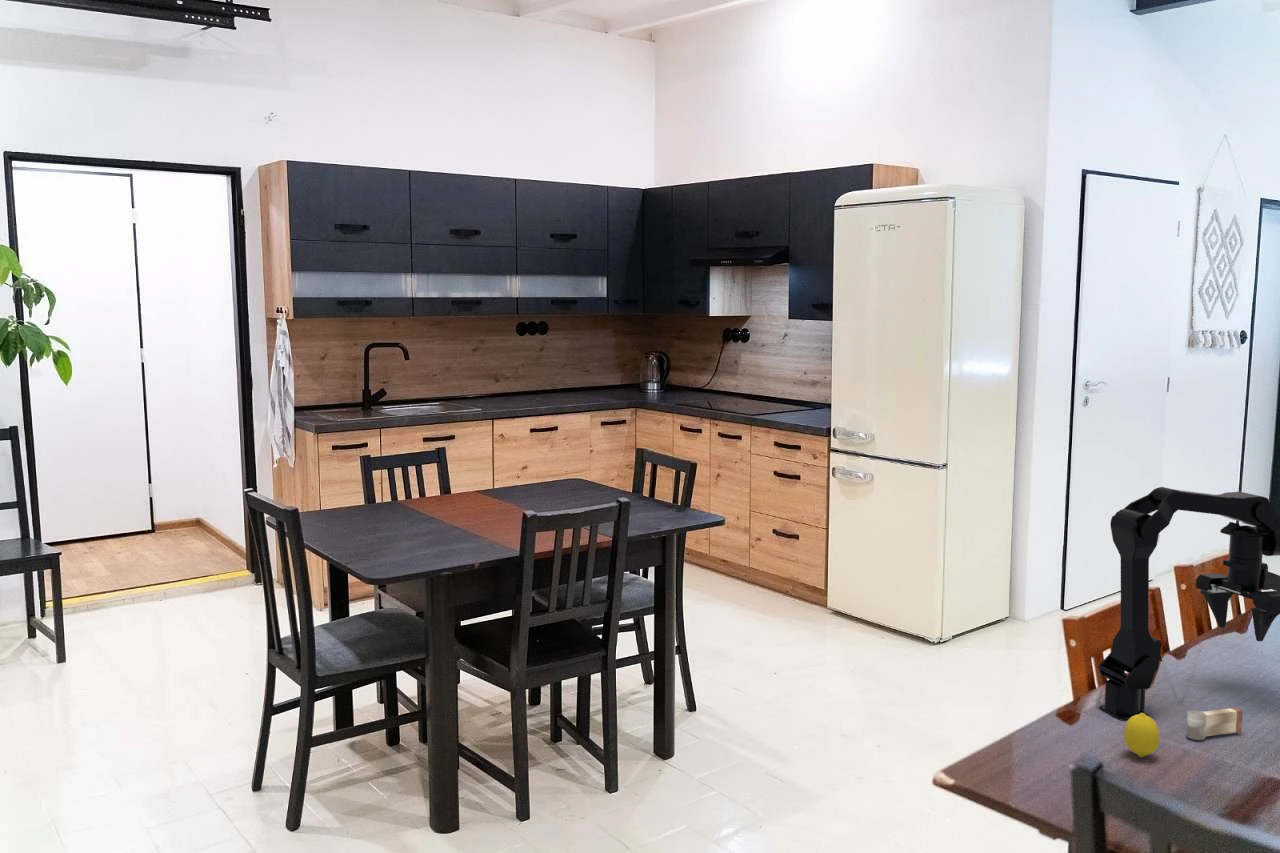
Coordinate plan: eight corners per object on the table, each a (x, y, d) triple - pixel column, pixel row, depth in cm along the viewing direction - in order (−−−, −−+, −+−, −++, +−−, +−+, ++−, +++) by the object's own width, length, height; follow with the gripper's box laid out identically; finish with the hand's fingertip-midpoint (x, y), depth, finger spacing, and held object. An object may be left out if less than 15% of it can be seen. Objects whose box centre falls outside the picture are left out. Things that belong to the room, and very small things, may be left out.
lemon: (1156, 766, 177) (1158, 721, 176) (1121, 759, 180) (1123, 715, 179) (1160, 754, 181) (1161, 711, 181) (1125, 748, 184) (1127, 705, 183)
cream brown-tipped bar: (1195, 740, 186) (1196, 717, 186) (1182, 734, 189) (1183, 711, 189) (1244, 734, 189) (1245, 711, 188) (1231, 728, 192) (1232, 705, 191)
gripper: (1320, 565, 195) (1314, 645, 197) (1240, 544, 213) (1236, 618, 215) (1272, 568, 193) (1266, 649, 194) (1195, 547, 211) (1191, 621, 212)
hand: (1240, 634), depth 204 cm, fingers open, 9 cm apart
